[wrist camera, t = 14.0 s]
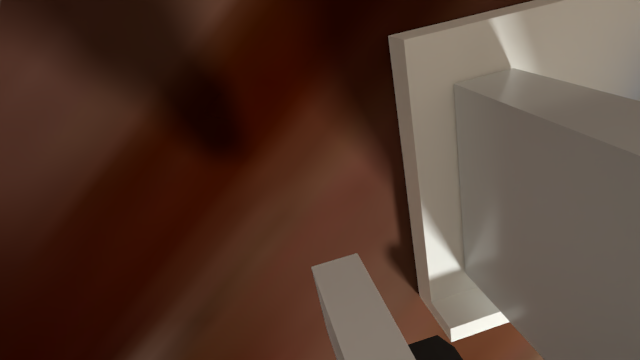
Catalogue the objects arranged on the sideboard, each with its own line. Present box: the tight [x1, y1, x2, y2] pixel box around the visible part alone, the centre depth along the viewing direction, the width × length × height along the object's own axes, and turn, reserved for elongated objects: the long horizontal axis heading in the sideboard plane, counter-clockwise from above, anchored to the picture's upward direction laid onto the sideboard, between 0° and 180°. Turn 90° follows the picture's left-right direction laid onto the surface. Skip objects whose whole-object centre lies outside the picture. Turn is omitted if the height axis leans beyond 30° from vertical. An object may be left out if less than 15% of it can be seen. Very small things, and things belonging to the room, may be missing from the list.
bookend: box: [454, 68, 640, 360], centre depth 14 cm, size 2×9×10 cm, turn 12°
